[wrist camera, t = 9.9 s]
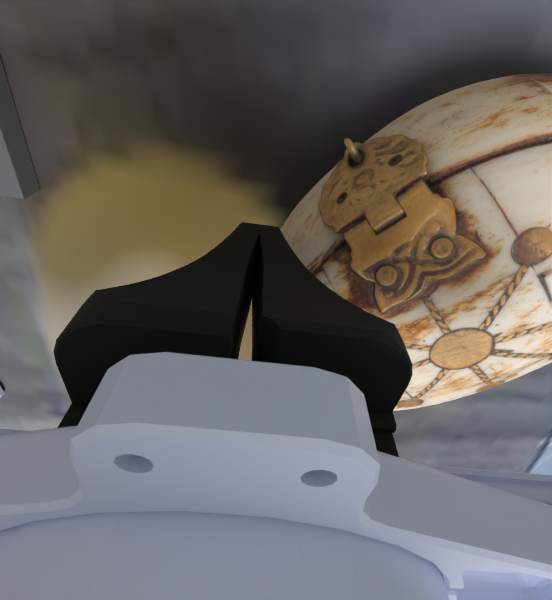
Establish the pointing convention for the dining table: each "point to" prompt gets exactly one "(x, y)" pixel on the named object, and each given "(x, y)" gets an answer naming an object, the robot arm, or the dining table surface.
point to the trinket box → (446, 234)
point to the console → (13, 149)
